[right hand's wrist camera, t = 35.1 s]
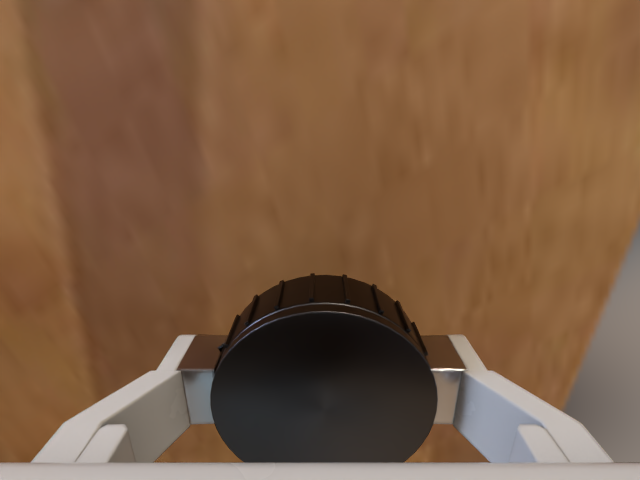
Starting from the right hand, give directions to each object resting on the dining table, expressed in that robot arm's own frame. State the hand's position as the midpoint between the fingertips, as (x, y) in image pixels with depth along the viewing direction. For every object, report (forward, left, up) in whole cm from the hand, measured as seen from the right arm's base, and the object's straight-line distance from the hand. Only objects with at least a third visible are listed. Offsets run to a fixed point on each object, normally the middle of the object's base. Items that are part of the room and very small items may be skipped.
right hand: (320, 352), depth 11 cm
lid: (0, 0, +2) cm, 2 cm away
